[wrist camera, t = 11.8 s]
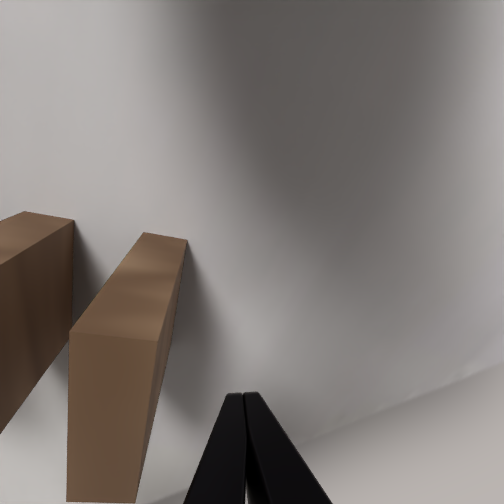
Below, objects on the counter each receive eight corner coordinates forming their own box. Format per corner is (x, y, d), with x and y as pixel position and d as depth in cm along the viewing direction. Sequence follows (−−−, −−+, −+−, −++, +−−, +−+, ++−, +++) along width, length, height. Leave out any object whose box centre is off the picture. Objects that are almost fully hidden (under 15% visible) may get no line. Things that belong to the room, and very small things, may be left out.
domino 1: (187, 239, 11) (157, 341, 6) (170, 346, 13) (134, 503, 8) (143, 232, 11) (69, 331, 6) (132, 342, 13) (66, 502, 7)
